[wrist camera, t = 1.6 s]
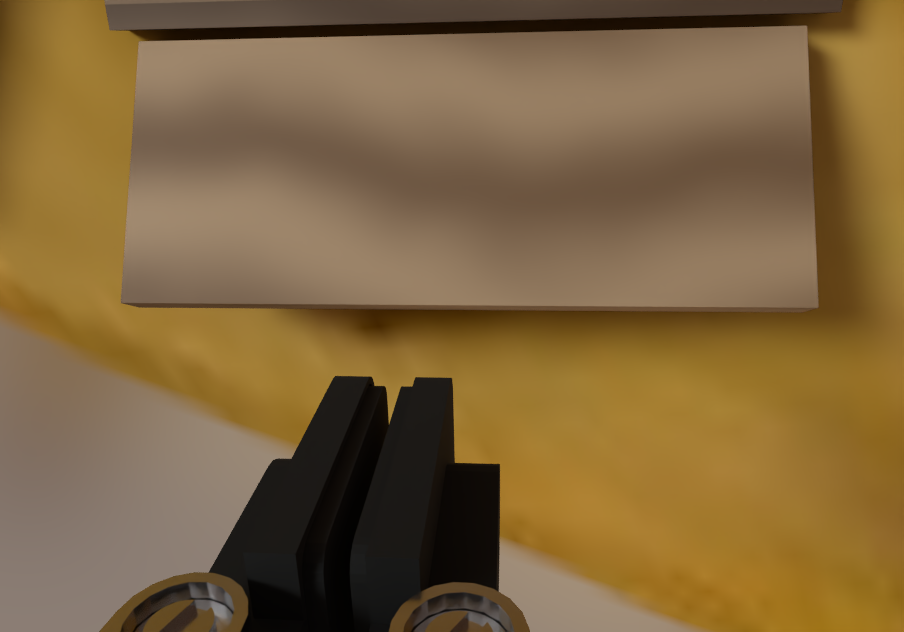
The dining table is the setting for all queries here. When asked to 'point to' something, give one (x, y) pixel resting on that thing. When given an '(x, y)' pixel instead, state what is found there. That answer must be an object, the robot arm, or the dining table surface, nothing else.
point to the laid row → (423, 11)
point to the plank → (475, 172)
